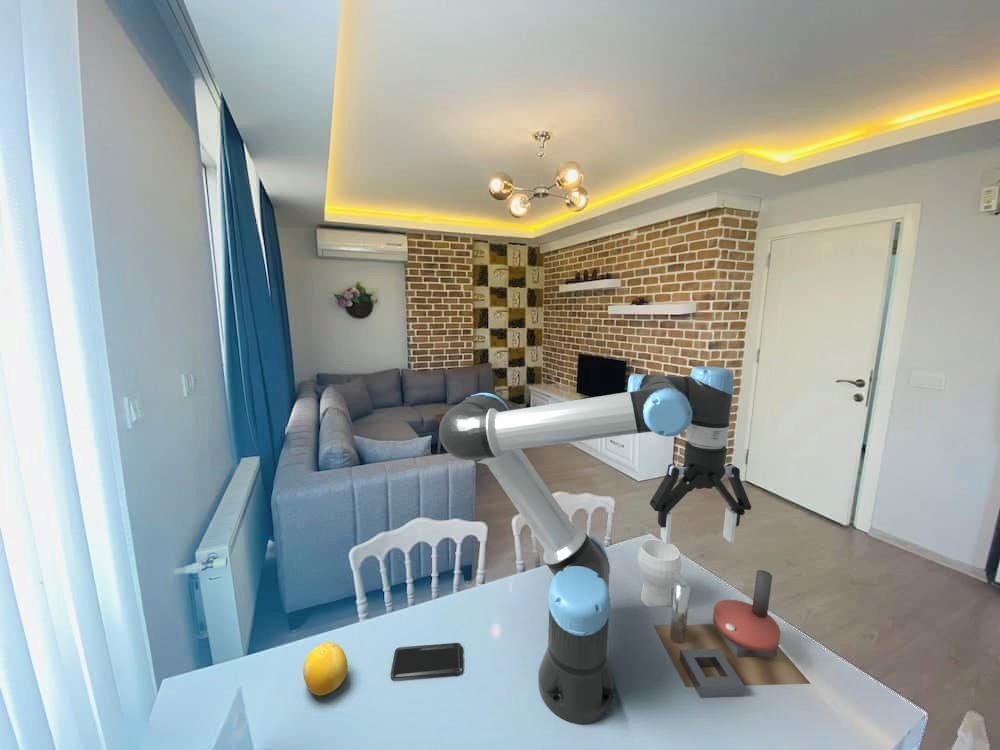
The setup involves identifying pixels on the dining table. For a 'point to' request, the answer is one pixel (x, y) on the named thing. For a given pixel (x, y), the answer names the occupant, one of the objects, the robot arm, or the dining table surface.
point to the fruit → (325, 668)
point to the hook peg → (679, 608)
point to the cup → (658, 571)
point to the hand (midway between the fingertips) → (696, 540)
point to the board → (732, 657)
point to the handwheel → (749, 618)
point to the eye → (711, 686)
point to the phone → (427, 662)
